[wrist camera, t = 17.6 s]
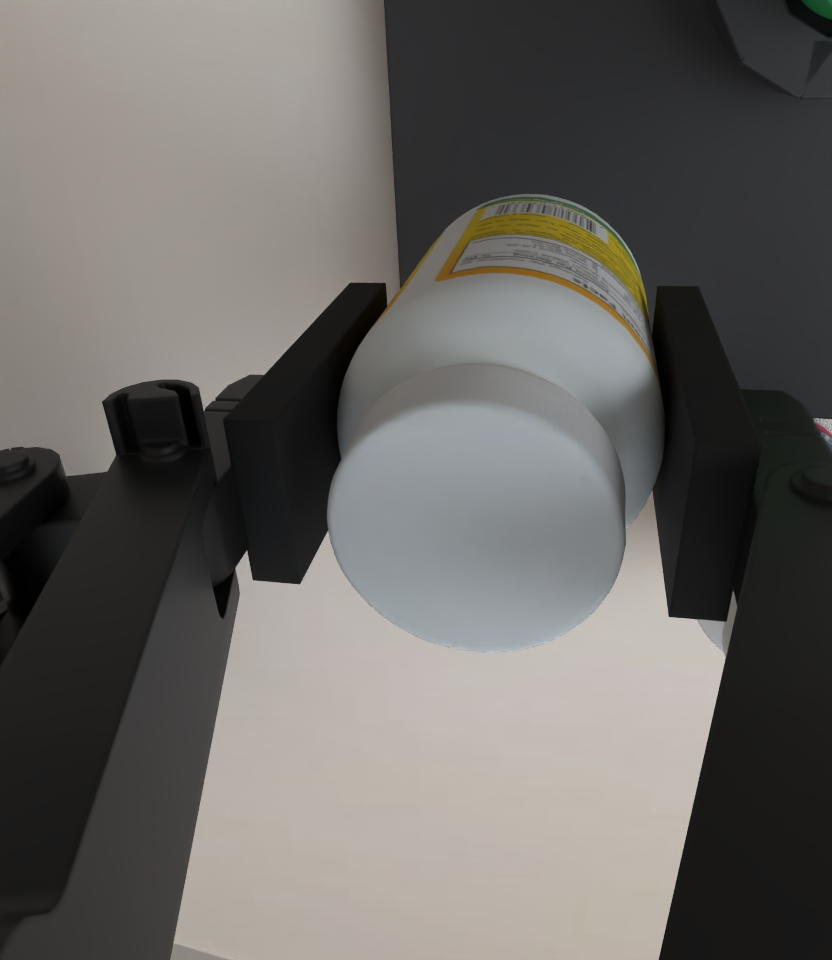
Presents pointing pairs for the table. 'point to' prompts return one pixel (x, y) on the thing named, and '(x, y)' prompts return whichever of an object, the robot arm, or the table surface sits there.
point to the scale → (639, 149)
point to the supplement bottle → (500, 430)
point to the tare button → (820, 7)
